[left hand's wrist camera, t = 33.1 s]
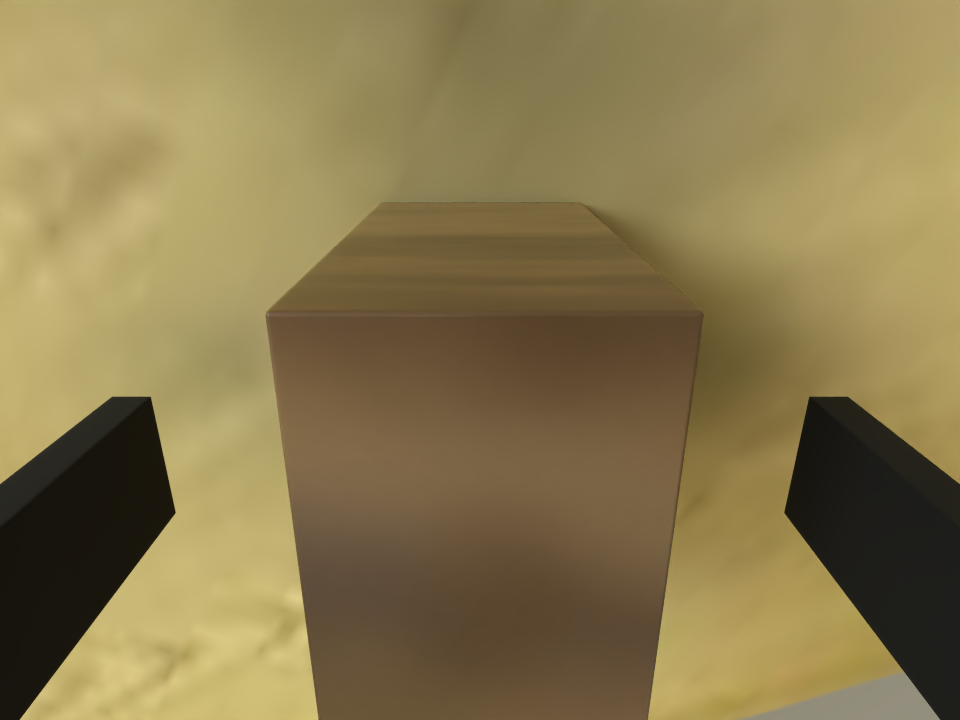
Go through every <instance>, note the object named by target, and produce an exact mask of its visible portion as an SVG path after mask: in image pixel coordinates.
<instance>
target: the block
mask: <svg viewBox="0 0 960 720" xmlns="http://www.w3.org/2000/svg"><path fill="white" fill-rule="evenodd" d="M266 322H267V330H268V338H269V345H270V353H271V360H272V368H273V376H274V383H275V391H276V398H277V406H278V414H279V421H280V429H281V437H282V444H283V452H284V459H285V467H286V475H287V482H288V490H289V497H290V505H291V513H292V520H293V528H294V536H295V543H296V551H297V558H298V566H299V574H300V581H301V589H302V596H303V604H304V612H305V619H306V627H307V635H308V642H309V650H310V657H311V665H312V673H313V680H314V688H315V695H316V703H317V711H318V718H319V720H648V713H649V706H650V699H651V692H652V684H653V677H654V670H655V663H656V655H657V648H658V641H659V634H660V626H661V619H662V612H663V605H664V597H665V590H666V583H667V576H668V568H669V561H670V554H671V547H672V539H673V532H674V525H675V518H676V510H677V503H678V496H679V489H680V481H681V474H682V467H683V460H684V452H685V445H686V438H687V431H688V423H689V416H690V409H691V402H692V394H693V387H694V380H695V373H696V365H697V358H698V351H699V344H700V336H701V329H702V322H703V312H702V311H701V310H700V309H699V308H698V307H697V306H696V305H695V304H694V303H692V302H691V301H690V300H689V299H688V298H687V297H686V296H685V295H683V294H682V293H681V292H680V291H679V290H678V289H677V288H676V287H674V286H673V285H672V284H671V283H670V282H669V281H668V280H667V279H665V278H664V277H663V276H662V275H661V274H660V273H659V272H658V271H656V270H655V269H654V268H653V267H652V266H651V265H650V264H649V263H647V262H646V261H645V260H644V259H643V258H642V257H641V256H640V255H638V254H637V253H636V252H635V251H634V250H633V249H632V248H630V247H629V246H628V245H627V244H626V243H625V242H624V241H623V240H621V239H620V238H619V237H618V236H617V235H616V234H615V233H614V232H612V231H611V230H610V229H609V228H608V227H607V226H606V225H605V224H603V223H602V222H601V221H600V220H599V219H598V218H597V217H596V216H594V215H593V214H592V213H591V212H590V211H589V210H588V209H587V208H585V207H584V206H583V205H582V204H581V203H381V204H380V205H379V206H378V207H377V208H376V209H374V210H373V211H372V212H371V213H370V214H369V215H368V216H367V217H366V218H365V219H364V220H363V221H362V222H361V223H360V224H359V225H358V226H357V227H355V228H354V229H353V230H352V231H351V232H350V233H349V234H348V235H347V236H346V237H345V238H344V239H343V240H342V241H341V242H340V243H339V244H338V245H336V246H335V247H334V248H333V249H332V250H331V251H330V252H329V253H328V254H327V255H326V256H325V257H324V258H323V259H322V260H321V261H320V262H318V263H317V264H316V265H315V266H314V267H313V268H312V269H311V270H310V271H309V272H308V273H307V274H306V275H305V276H304V277H303V278H302V279H301V280H299V281H298V282H297V283H296V284H295V285H294V286H293V287H292V288H291V289H290V290H289V291H288V292H287V293H286V294H285V295H284V296H283V297H282V298H280V299H279V300H278V301H277V302H276V303H275V304H274V305H273V306H272V307H271V308H270V309H269V310H268V311H267V312H266Z"/></svg>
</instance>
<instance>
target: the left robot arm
mask: <svg viewBox="0 0 960 720" xmlns="http://www.w3.org/2000/svg"><path fill="white" fill-rule="evenodd" d="M175 513H176V512H175V507H174V503H173V498H172V493H171V489H170V484H169V480H168V475H167V470H166V466H165V461H164V456H163V452H162V447H161V442H160V438H159V433H158V428H157V424H156V419H155V415H154V410H153V405H152V401H151V397H111V398H110V399H109V400H107V401H106V402H105V403H104V404H102V405H101V406H100V407H98V408H97V409H96V410H95V411H93V412H92V413H91V414H90V415H88V416H87V417H86V418H84V419H83V420H82V421H81V422H79V423H78V424H77V425H75V426H74V427H73V428H72V429H70V430H69V431H68V432H66V433H65V434H64V435H63V436H61V437H60V438H59V439H58V440H56V441H55V442H54V443H52V444H51V445H50V446H49V447H47V448H46V449H45V450H43V451H42V452H41V453H40V454H38V455H37V456H36V457H34V458H33V459H32V460H31V461H29V462H28V463H27V464H26V465H24V466H23V467H22V468H20V469H19V470H18V471H17V472H15V473H14V474H13V475H11V476H10V477H9V478H8V479H6V480H5V481H4V482H2V483H1V484H0V720H20V719H21V717H22V716H23V715H24V713H25V712H26V711H27V709H28V708H29V707H30V705H31V704H32V703H33V701H34V700H35V699H36V697H37V696H38V695H39V693H40V692H41V691H42V689H43V688H44V687H45V685H46V684H47V683H48V681H49V680H50V679H51V677H52V676H53V675H54V673H55V672H56V671H57V669H58V668H59V667H60V665H61V664H62V663H63V662H64V660H65V659H66V658H67V656H68V655H69V654H70V652H71V651H72V650H73V648H74V647H75V646H76V644H77V643H78V642H79V640H80V639H81V638H82V636H83V635H84V634H85V632H86V631H87V630H88V628H89V627H90V626H91V624H92V623H93V622H94V620H95V619H96V618H97V616H98V615H99V614H100V612H101V611H102V610H103V608H104V607H105V606H106V605H107V603H108V602H109V601H110V599H111V598H112V597H113V595H114V594H115V593H116V591H117V590H118V589H119V587H120V586H121V585H122V583H123V582H124V581H125V579H126V578H127V577H128V575H129V574H130V573H131V571H132V570H133V569H134V567H135V566H136V565H137V563H138V562H139V561H140V559H141V558H142V557H143V555H144V554H145V553H146V552H147V550H148V549H149V548H150V546H151V545H152V544H153V542H154V541H155V540H156V538H157V537H158V536H159V534H160V533H161V532H162V530H163V529H164V528H165V526H166V525H167V524H168V522H169V521H170V520H171V518H172V517H173V516H174V514H175ZM784 513H785V514H786V516H787V517H788V518H789V520H790V521H791V522H792V524H793V525H794V526H795V528H796V529H797V530H798V532H799V533H800V534H801V536H802V537H803V538H804V540H805V541H806V542H807V544H808V545H809V546H810V548H811V549H812V550H813V552H814V553H815V554H816V555H817V557H818V558H819V559H820V561H821V562H822V563H823V565H824V566H825V567H826V569H827V570H828V571H829V573H830V574H831V575H832V577H833V578H834V579H835V581H836V582H837V583H838V585H839V586H840V587H841V589H842V590H843V591H844V593H845V594H846V595H847V597H848V598H849V599H850V601H851V602H852V603H853V605H854V606H855V607H856V608H857V610H858V611H859V612H860V614H861V615H862V616H863V618H864V619H865V620H866V622H867V623H868V624H869V626H870V627H871V628H872V630H873V631H874V632H875V634H876V635H877V636H878V638H879V639H880V640H881V642H882V643H883V644H884V646H885V647H886V648H887V650H888V651H889V652H890V654H891V655H892V656H893V658H894V659H895V660H896V662H897V663H898V664H899V665H900V667H901V668H902V669H903V671H904V672H905V673H906V675H907V676H908V677H909V679H910V680H911V681H912V683H913V684H914V685H915V687H916V688H917V689H918V691H919V692H920V693H921V695H922V696H923V697H924V699H925V700H926V701H927V703H928V704H929V705H930V706H931V708H932V709H933V711H934V712H935V713H936V715H937V716H938V717H939V719H940V720H960V484H959V483H958V482H956V481H955V480H954V479H952V478H951V477H950V476H949V475H947V474H946V473H945V472H943V471H942V470H941V469H940V468H938V467H937V466H936V465H934V464H933V463H932V462H931V461H929V460H928V459H927V458H926V457H924V456H923V455H922V454H920V453H919V452H918V451H917V450H915V449H914V448H913V447H911V446H910V445H909V444H908V443H906V442H905V441H904V440H902V439H901V438H900V437H899V436H897V435H896V434H895V433H894V432H892V431H891V430H890V429H888V428H887V427H886V426H885V425H883V424H882V423H881V422H879V421H878V420H877V419H876V418H874V417H873V416H872V415H870V414H869V413H868V412H867V411H865V410H864V409H863V408H862V407H860V406H859V405H858V404H856V403H855V402H854V401H853V400H851V399H850V398H849V397H809V401H808V405H807V410H806V415H805V419H804V424H803V428H802V433H801V438H800V442H799V447H798V452H797V456H796V461H795V466H794V470H793V475H792V480H791V484H790V489H789V493H788V498H787V503H786V507H785V512H784Z"/></svg>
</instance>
